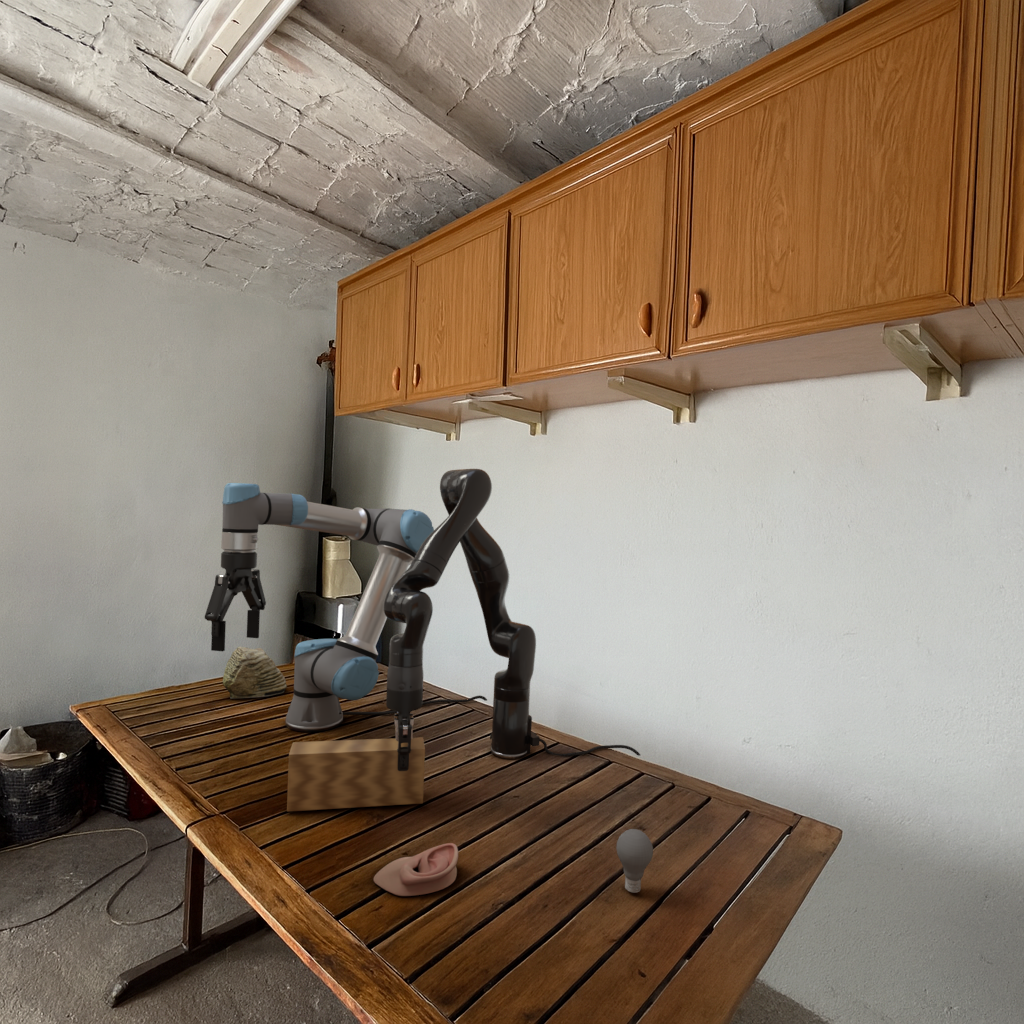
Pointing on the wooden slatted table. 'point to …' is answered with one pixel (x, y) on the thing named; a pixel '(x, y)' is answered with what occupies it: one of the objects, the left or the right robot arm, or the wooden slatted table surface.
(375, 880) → the anatomical model
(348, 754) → the box
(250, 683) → the fossil
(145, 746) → the wooden slatted table surface
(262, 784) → the wooden slatted table surface
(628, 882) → the light bulb
